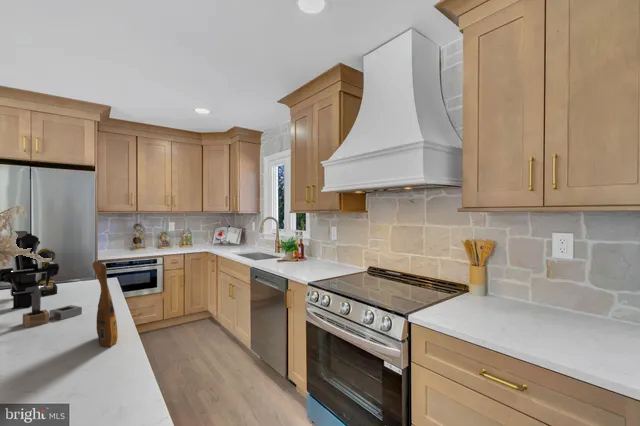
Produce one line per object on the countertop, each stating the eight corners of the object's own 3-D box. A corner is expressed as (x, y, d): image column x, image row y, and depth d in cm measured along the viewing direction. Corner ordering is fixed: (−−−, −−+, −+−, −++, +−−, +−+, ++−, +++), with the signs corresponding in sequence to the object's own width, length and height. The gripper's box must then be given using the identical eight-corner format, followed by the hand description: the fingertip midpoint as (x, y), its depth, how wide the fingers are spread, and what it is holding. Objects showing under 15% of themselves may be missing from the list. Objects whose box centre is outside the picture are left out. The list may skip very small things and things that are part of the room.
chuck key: (26, 325, 120) (26, 288, 120) (25, 324, 122) (25, 287, 122) (46, 321, 125) (46, 285, 124) (45, 320, 126) (45, 284, 126)
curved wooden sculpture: (94, 352, 97) (94, 266, 97) (92, 333, 112) (92, 259, 112) (119, 346, 102) (119, 264, 101) (114, 329, 116) (114, 257, 116)
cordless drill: (42, 299, 155) (42, 251, 155) (33, 293, 168) (33, 248, 168) (62, 296, 162) (62, 250, 162) (52, 290, 175) (52, 247, 175)
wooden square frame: (22, 323, 123) (22, 313, 123) (45, 318, 128) (45, 309, 128) (25, 327, 118) (25, 317, 118) (49, 322, 124) (49, 312, 124)
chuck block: (49, 317, 130) (49, 310, 130) (70, 311, 137) (70, 305, 137) (60, 319, 127) (60, 312, 127) (81, 313, 134) (81, 307, 134)
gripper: (52, 267, 145) (58, 294, 139) (-4, 273, 131) (-1, 303, 124) (56, 252, 140) (62, 279, 134) (-2, 257, 126) (1, 287, 119)
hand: (32, 287), depth 128 cm, fingers open, 9 cm apart
